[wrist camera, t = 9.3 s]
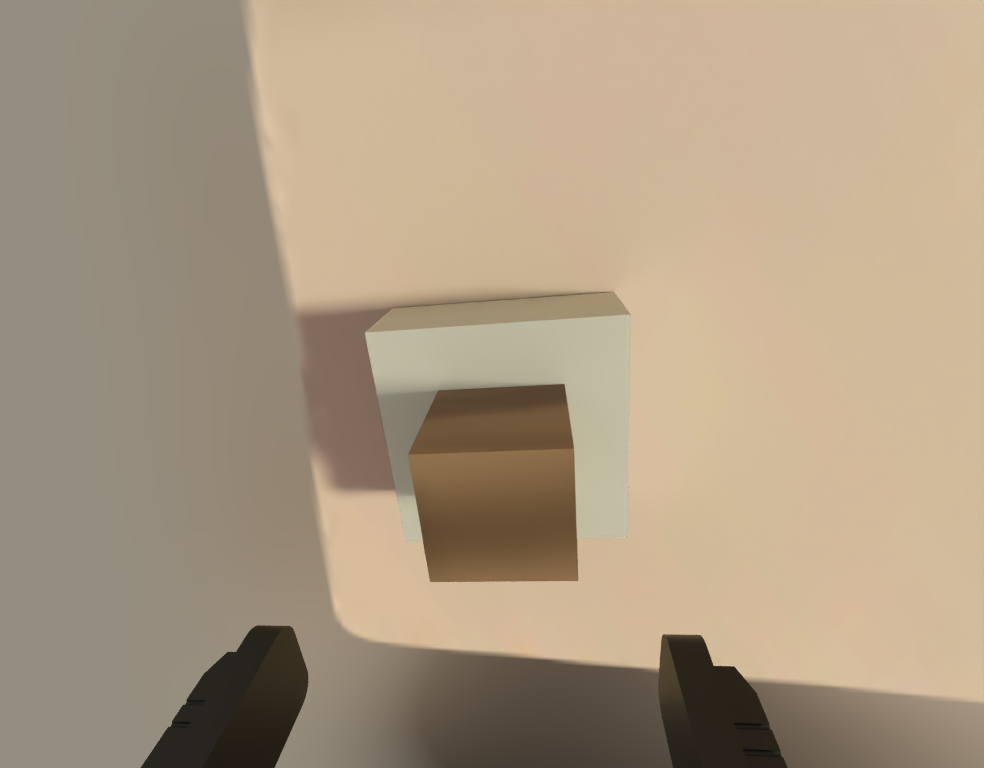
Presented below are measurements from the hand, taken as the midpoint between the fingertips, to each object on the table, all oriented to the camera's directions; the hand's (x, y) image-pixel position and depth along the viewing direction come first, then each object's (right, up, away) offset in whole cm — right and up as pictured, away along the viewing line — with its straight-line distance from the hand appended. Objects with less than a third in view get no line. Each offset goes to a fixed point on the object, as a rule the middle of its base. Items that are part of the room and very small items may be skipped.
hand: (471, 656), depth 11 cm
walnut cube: (+1, +3, +10) cm, 10 cm away
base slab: (+1, +5, +13) cm, 14 cm away
